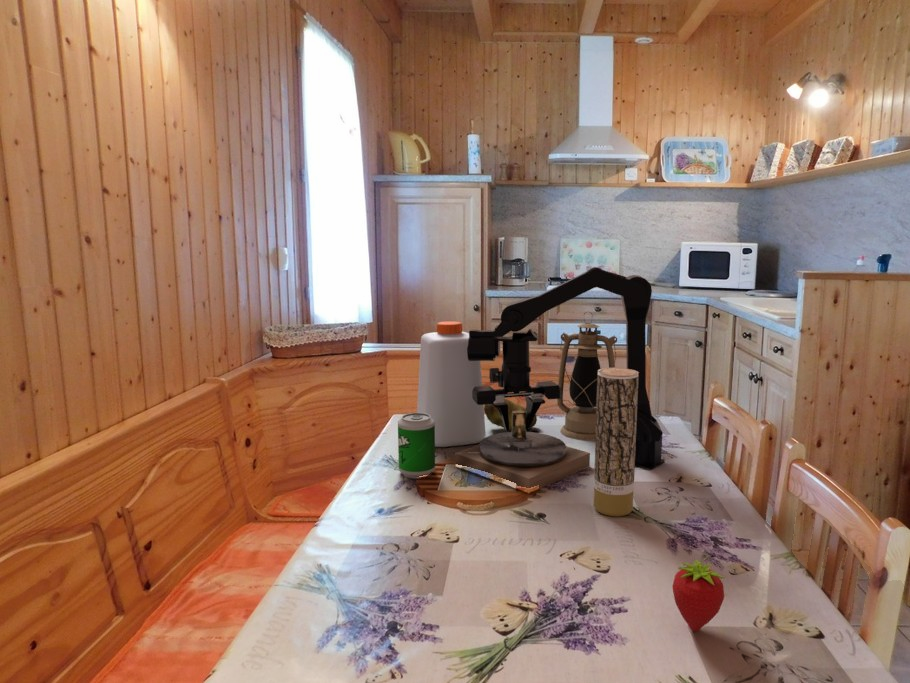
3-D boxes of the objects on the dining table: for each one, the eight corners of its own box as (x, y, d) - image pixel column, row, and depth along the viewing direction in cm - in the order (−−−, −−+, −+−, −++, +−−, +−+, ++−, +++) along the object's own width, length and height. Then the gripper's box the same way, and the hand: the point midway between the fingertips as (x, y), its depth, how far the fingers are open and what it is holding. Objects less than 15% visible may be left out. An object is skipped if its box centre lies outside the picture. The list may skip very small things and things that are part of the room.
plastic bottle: (412, 431, 158) (410, 320, 153) (469, 425, 162) (469, 317, 158) (428, 450, 144) (426, 328, 139) (490, 443, 148) (491, 325, 143)
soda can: (437, 467, 133) (436, 412, 131) (432, 480, 126) (432, 422, 124) (402, 465, 134) (401, 411, 132) (395, 479, 127) (394, 421, 125)
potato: (533, 436, 153) (533, 404, 152) (481, 432, 157) (481, 400, 156) (538, 426, 161) (538, 395, 160) (488, 422, 165) (488, 392, 163)
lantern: (619, 429, 158) (623, 310, 153) (610, 443, 148) (615, 316, 143) (562, 422, 164) (565, 307, 159) (550, 435, 154) (552, 313, 149)
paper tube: (634, 519, 108) (640, 376, 104) (593, 516, 110) (597, 375, 105) (631, 503, 115) (637, 368, 111) (593, 500, 116) (597, 367, 112)
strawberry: (721, 618, 80) (726, 544, 79) (721, 654, 73) (727, 574, 72) (672, 608, 82) (676, 536, 81) (668, 642, 76) (672, 564, 74)
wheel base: (589, 466, 133) (589, 452, 133) (529, 493, 119) (529, 478, 119) (516, 444, 147) (516, 431, 147) (455, 466, 133) (455, 452, 133)
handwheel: (573, 466, 124) (574, 434, 123) (481, 467, 124) (481, 435, 123) (558, 437, 142) (558, 409, 141) (477, 438, 142) (477, 410, 140)
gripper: (545, 351, 146) (546, 417, 148) (466, 357, 143) (468, 423, 145) (562, 360, 135) (562, 431, 137) (476, 366, 132) (478, 438, 134)
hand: (517, 430), depth 139 cm, fingers open, 4 cm apart
